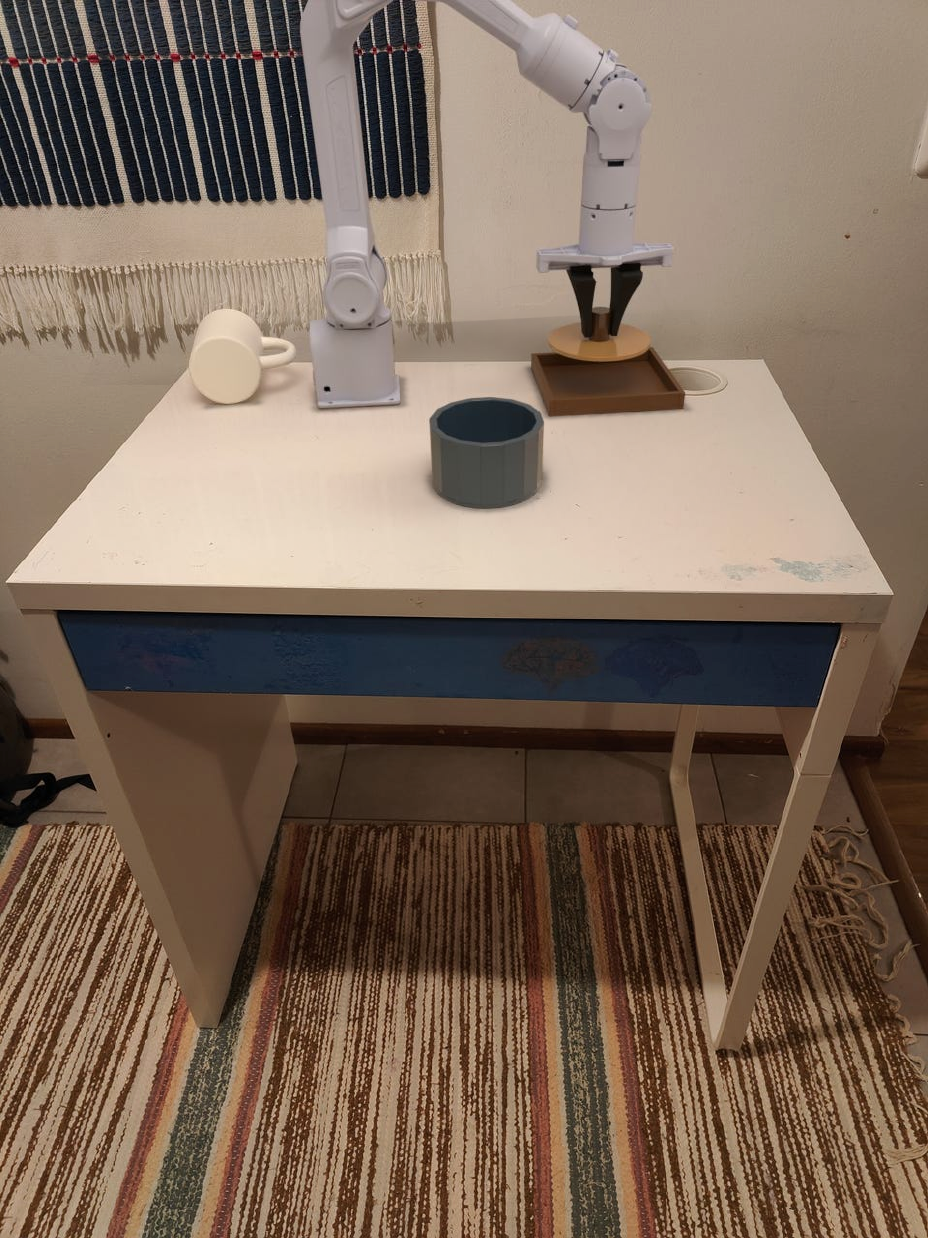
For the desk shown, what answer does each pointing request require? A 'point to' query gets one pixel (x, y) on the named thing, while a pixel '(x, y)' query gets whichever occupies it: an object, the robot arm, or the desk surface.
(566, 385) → the tray
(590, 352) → the lid
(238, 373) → the mug
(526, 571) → the desk surface
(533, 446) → the blue gray round pot
